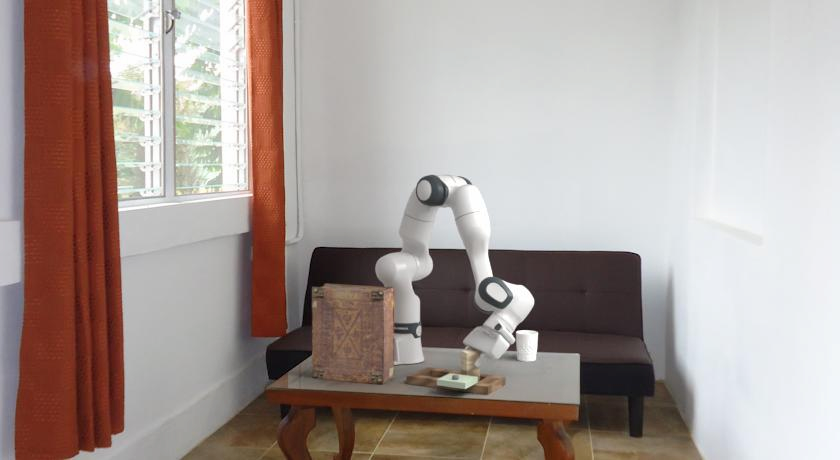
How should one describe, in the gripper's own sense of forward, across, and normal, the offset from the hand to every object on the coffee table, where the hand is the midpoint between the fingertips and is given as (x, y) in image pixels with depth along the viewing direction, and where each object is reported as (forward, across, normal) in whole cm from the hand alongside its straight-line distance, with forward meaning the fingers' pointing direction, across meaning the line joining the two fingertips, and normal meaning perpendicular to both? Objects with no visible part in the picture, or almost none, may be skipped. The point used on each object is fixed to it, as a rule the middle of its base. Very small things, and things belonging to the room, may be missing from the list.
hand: (468, 362), depth 269 cm
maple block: (+5, 0, +6) cm, 8 cm away
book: (+27, -23, -16) cm, 39 cm away
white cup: (-20, -27, +31) cm, 45 cm away
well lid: (+8, +6, -1) cm, 10 cm away
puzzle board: (+7, -4, +4) cm, 9 cm away
